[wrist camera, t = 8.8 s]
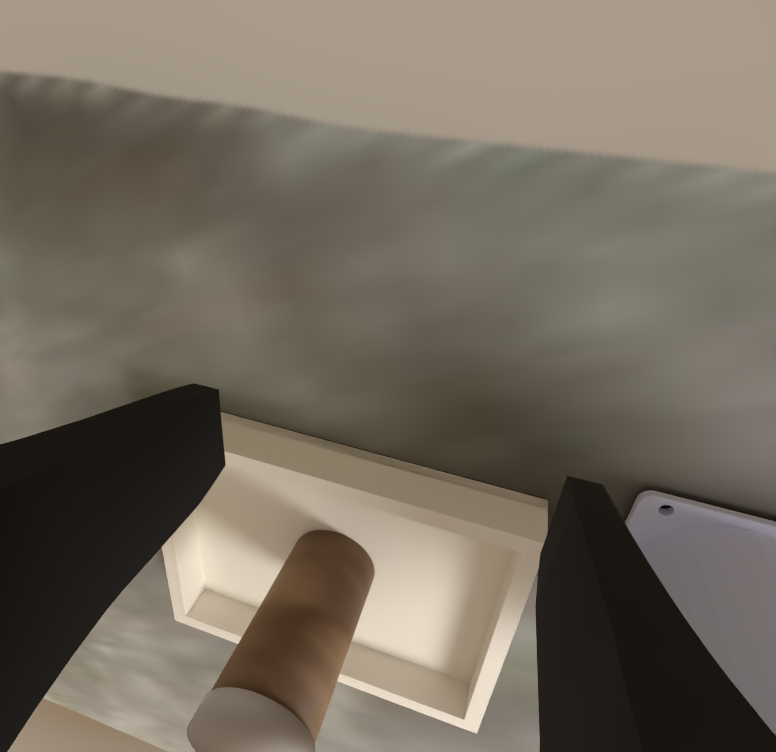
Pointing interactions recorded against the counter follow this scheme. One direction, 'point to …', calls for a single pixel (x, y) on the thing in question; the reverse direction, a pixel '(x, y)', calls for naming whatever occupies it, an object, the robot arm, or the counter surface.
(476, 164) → the counter surface
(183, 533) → the tray
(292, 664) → the shaker
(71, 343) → the counter surface
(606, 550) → the robot arm
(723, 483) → the counter surface
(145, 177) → the counter surface
